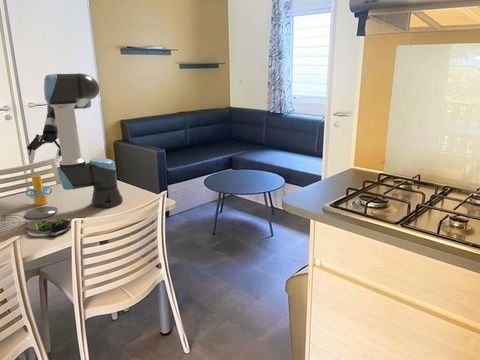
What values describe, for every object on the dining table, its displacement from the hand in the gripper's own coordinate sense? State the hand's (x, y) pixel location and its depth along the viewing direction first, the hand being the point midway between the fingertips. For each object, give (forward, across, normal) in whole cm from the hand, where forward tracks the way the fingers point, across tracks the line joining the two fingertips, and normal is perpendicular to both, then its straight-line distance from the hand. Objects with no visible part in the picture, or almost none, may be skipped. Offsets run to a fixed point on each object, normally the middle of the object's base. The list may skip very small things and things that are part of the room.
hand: (44, 161), depth 203 cm
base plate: (+32, -7, +4) cm, 33 cm away
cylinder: (+22, 0, -6) cm, 23 cm away
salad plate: (+46, -20, +18) cm, 53 cm away
